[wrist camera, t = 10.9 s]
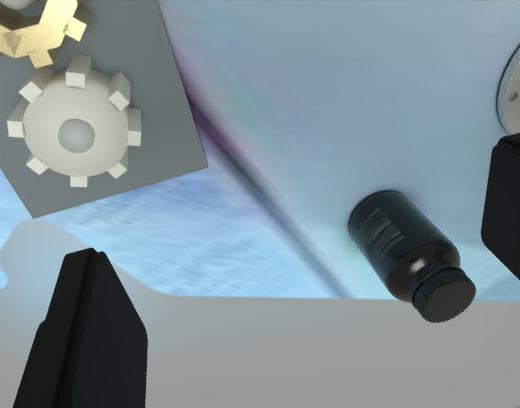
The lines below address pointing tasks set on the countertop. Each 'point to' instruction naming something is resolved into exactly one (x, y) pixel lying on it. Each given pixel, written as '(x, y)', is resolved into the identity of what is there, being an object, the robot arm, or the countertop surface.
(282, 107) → the countertop surface
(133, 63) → the gear board
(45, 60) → the brass gear
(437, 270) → the supplement bottle
